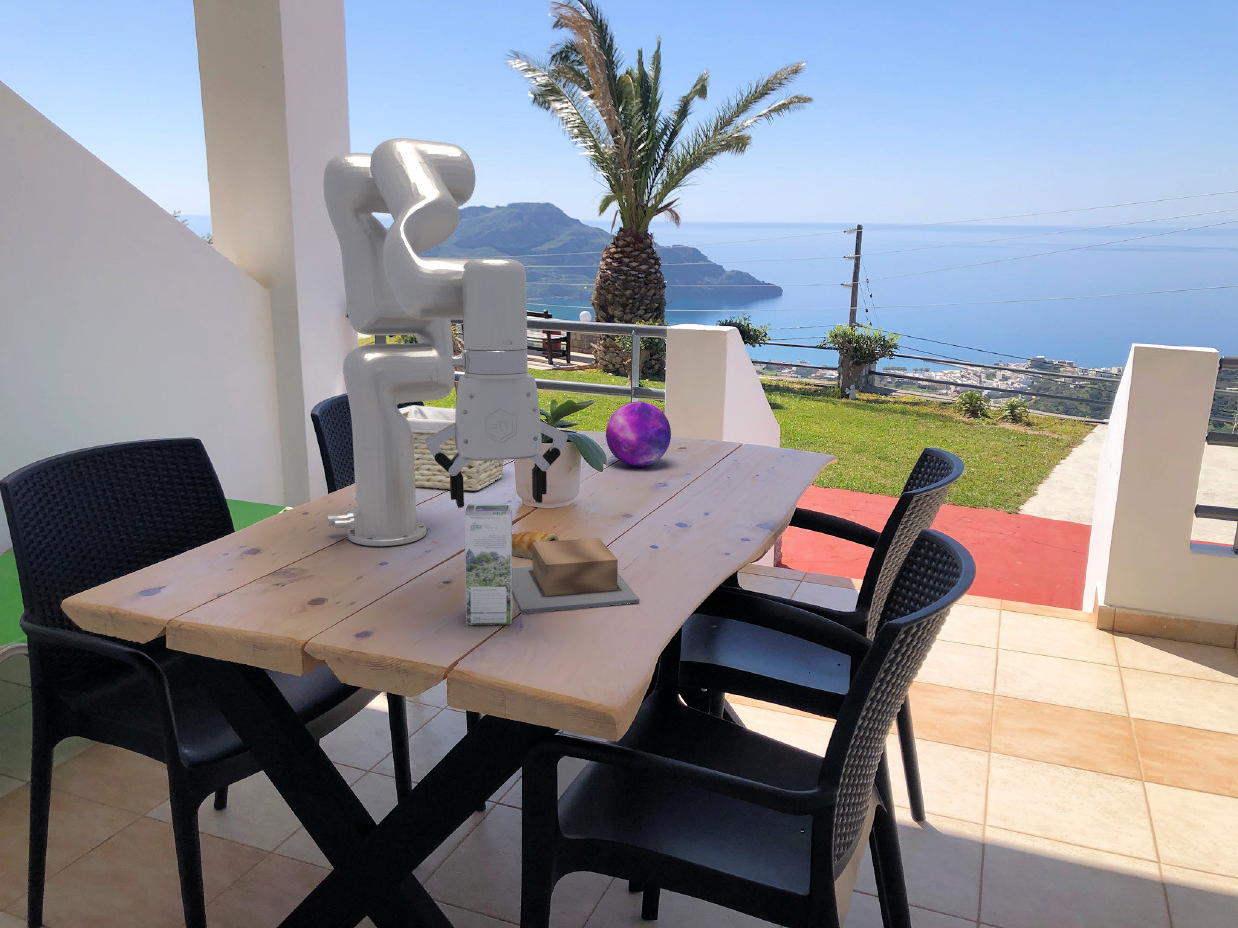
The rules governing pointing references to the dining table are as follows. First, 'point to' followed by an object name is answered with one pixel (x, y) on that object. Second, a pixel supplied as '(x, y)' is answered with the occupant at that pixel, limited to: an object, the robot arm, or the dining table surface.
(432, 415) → the storage basket
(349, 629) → the dining table surface
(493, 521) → the syrup box
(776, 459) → the dining table surface
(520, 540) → the pastry
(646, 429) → the decorative orb
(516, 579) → the slate mat
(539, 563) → the plinth
